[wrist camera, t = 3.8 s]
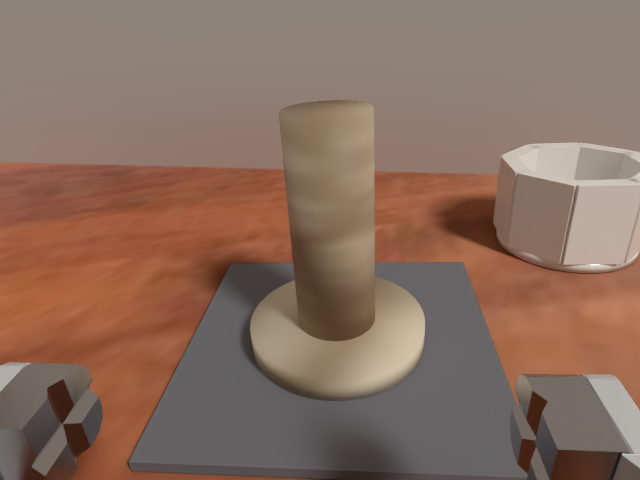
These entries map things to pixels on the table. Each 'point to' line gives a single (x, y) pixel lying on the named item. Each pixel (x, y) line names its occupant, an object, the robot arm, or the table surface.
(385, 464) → the mat
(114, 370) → the table surface
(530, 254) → the white octagonal collar
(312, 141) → the beige peg with base
